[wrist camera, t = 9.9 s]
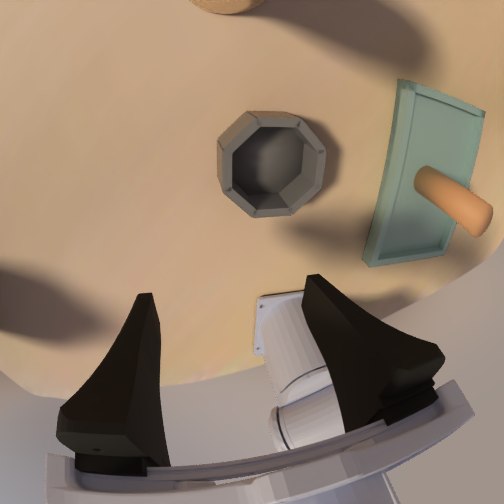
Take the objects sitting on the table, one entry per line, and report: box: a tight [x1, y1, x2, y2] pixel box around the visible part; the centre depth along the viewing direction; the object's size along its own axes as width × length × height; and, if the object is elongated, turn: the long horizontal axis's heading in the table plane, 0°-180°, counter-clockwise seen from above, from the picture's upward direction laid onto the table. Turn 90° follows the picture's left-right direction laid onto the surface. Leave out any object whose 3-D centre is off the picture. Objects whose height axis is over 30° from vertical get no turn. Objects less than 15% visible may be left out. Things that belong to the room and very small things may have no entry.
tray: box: [362, 79, 485, 267], centre depth 24 cm, size 18×12×2 cm, turn 178°
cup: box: [217, 111, 327, 218], centre depth 19 cm, size 7×7×3 cm
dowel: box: [414, 165, 493, 237], centre depth 21 cm, size 3×3×8 cm
